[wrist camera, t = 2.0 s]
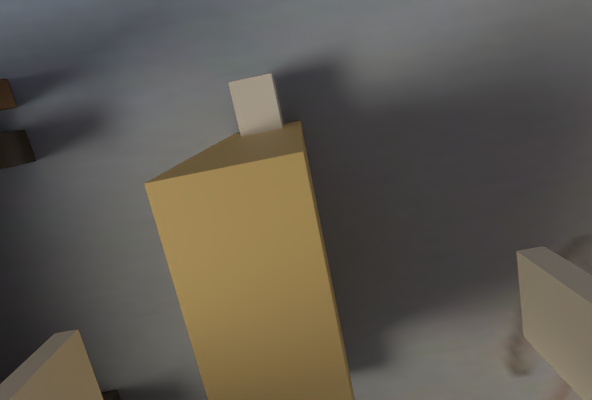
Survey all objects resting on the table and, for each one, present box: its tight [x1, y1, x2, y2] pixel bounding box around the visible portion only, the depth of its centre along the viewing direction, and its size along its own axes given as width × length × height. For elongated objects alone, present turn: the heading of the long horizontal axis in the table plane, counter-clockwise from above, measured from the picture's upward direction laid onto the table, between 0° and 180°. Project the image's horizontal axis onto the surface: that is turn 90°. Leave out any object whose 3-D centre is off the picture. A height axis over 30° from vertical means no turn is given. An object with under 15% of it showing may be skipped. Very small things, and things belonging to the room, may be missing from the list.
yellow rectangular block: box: [144, 74, 355, 400], centre depth 14 cm, size 15×3×11 cm, turn 11°
